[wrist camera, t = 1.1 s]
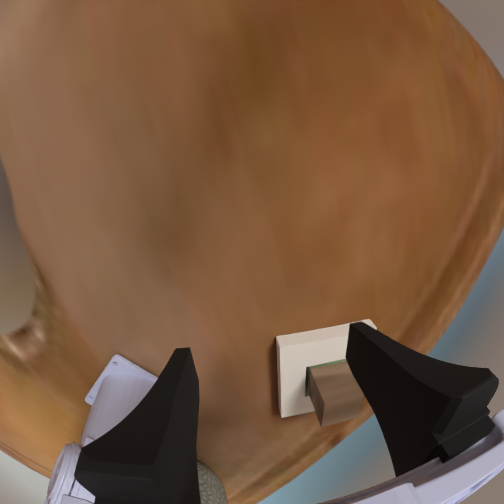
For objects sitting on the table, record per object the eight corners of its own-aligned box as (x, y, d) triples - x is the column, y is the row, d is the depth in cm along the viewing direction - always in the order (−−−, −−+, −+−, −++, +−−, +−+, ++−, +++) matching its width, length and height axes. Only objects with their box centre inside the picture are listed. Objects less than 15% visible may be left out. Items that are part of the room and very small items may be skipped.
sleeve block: (355, 389, 29) (361, 400, 27) (278, 406, 28) (281, 419, 26) (369, 318, 25) (377, 329, 24) (276, 336, 25) (280, 348, 23)
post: (337, 376, 27) (357, 417, 22) (304, 383, 27) (320, 427, 22) (340, 350, 26) (364, 392, 21) (305, 358, 26) (324, 403, 20)
